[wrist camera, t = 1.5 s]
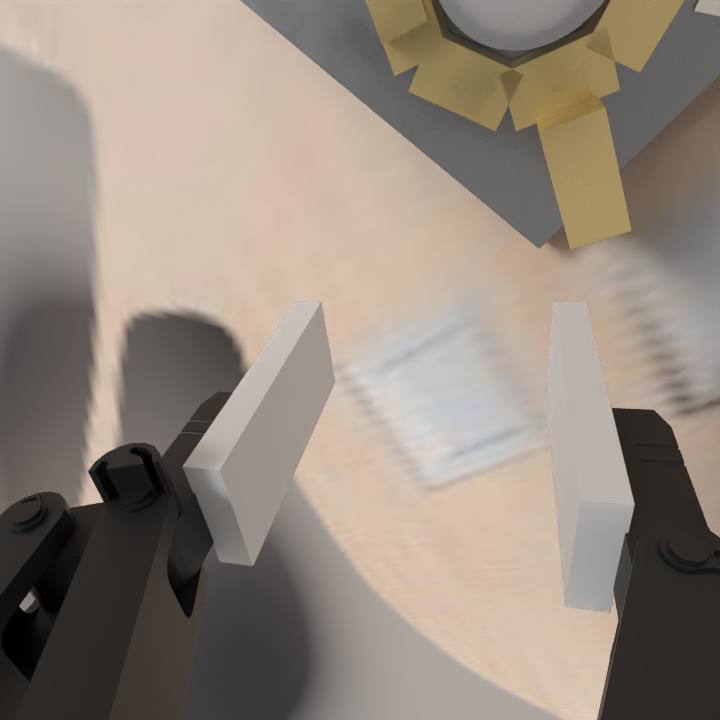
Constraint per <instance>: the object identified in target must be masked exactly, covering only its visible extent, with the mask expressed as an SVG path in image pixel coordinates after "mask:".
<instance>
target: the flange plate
mask: <svg viewBox="0 0 720 720" xmlns="http://www.w3.org/2000/svg"><path fill="white" fill-rule="evenodd" d="M241 1H242V2H243V3H244V4H245V5H247V6H248V7H249V8H250V9H251V10H253V11H254V12H255V13H256V14H257V15H259V16H260V17H261V18H262V19H263V20H265V21H266V22H267V23H268V24H270V25H271V26H272V27H273V28H274V29H276V30H277V31H278V32H279V33H280V34H282V35H283V36H284V37H285V38H286V39H288V40H289V41H290V42H291V43H292V44H294V45H295V46H296V47H297V48H298V49H300V50H301V51H302V52H303V53H304V54H306V55H307V56H308V57H309V58H310V59H312V60H313V61H314V62H315V63H316V64H318V65H319V66H320V67H321V68H322V69H324V70H325V71H326V72H327V73H328V74H330V75H331V76H332V77H333V78H334V79H336V80H337V81H338V82H339V83H340V84H342V85H343V86H344V87H345V88H346V89H348V90H349V91H350V92H351V93H352V94H354V95H355V96H356V97H357V98H358V99H360V100H361V101H362V102H363V103H364V104H366V105H367V106H368V107H369V108H370V109H372V110H373V111H374V112H375V113H376V114H378V115H379V116H380V117H381V118H382V119H384V120H385V121H386V122H387V123H388V124H390V125H391V126H392V127H393V128H394V129H396V130H397V131H398V132H399V133H401V134H402V135H403V136H404V137H405V138H407V139H408V140H409V141H410V142H411V143H413V144H414V145H415V146H416V147H417V148H419V149H420V150H421V151H422V152H423V153H425V154H426V155H427V156H428V157H429V158H431V159H432V160H433V161H434V162H435V163H437V164H438V165H439V166H440V167H441V168H443V169H444V170H445V171H446V172H447V173H449V174H450V175H451V176H452V177H453V178H455V179H456V180H457V181H458V182H459V183H461V184H462V185H463V186H464V187H465V188H467V189H468V190H469V191H470V192H471V193H473V194H474V195H475V196H476V197H477V198H479V199H480V200H481V201H482V202H483V203H485V204H486V205H487V206H488V207H489V208H491V209H492V210H493V211H494V212H495V213H497V214H498V215H499V216H500V217H501V218H503V219H504V220H505V221H506V222H507V223H509V224H510V225H511V226H512V227H513V228H515V229H516V230H517V231H518V232H519V233H521V234H522V235H523V236H524V237H525V238H527V239H528V240H529V241H530V242H532V243H533V244H534V245H535V246H536V247H538V248H540V247H542V246H543V245H544V244H545V243H546V242H547V241H548V240H549V239H550V238H551V237H552V236H553V235H554V234H555V233H556V232H557V231H558V230H559V229H560V228H561V227H562V226H563V221H562V217H561V213H560V210H559V206H558V202H557V199H556V195H555V191H554V188H553V184H552V180H551V177H550V173H549V169H548V166H547V162H546V158H545V154H544V151H543V147H542V143H541V140H540V136H539V132H538V127H537V123H536V124H533V125H531V126H528V127H526V128H523V129H521V130H518V131H516V129H515V126H514V122H513V119H512V115H511V112H510V108H509V105H508V107H507V109H506V111H505V114H504V116H503V118H502V120H501V122H500V124H499V126H498V128H497V130H496V131H494V130H492V129H489V128H487V127H485V126H483V125H481V124H478V123H476V122H474V121H472V120H470V119H467V118H465V117H463V116H461V115H459V114H456V113H454V112H452V111H450V110H448V109H445V108H443V107H441V106H439V105H437V104H434V103H432V102H430V101H428V100H426V99H423V98H421V97H419V96H417V95H415V94H412V93H410V92H408V91H409V89H410V86H411V84H412V81H413V78H414V76H415V73H416V70H417V68H418V65H416V66H414V67H412V68H410V69H408V70H406V71H404V72H402V73H400V74H398V75H396V76H394V73H393V70H392V68H391V65H390V62H389V60H388V57H387V54H386V52H385V49H384V46H383V44H381V41H380V39H379V36H378V33H377V30H376V28H375V25H374V22H373V20H372V17H371V14H370V12H369V9H368V6H367V3H366V1H367V0H241ZM439 1H440V4H441V8H442V11H443V14H444V17H445V20H446V23H447V27H448V30H449V33H451V34H453V35H456V36H458V37H460V38H462V39H464V40H467V41H469V42H471V43H473V44H475V45H477V46H480V47H482V48H484V49H486V50H488V51H491V52H493V53H495V54H497V55H499V56H501V57H504V58H506V59H508V60H510V61H514V60H516V59H518V58H520V57H523V56H525V55H527V54H529V53H531V52H534V51H536V50H538V49H540V48H542V47H545V46H547V45H549V44H551V43H553V42H556V41H558V40H560V39H562V38H564V37H567V36H569V35H571V34H573V33H575V32H578V31H580V30H582V29H584V28H585V27H586V25H587V23H588V21H589V19H590V17H591V15H592V14H593V13H594V12H595V11H596V10H597V9H598V8H599V7H600V6H601V4H602V3H603V2H604V0H439ZM614 63H615V68H616V73H617V78H618V83H619V88H620V90H618V91H615V92H613V93H611V94H608V95H606V96H603V97H601V98H599V100H600V101H601V102H602V103H603V105H604V106H605V107H606V112H607V116H608V121H609V126H610V131H611V135H612V140H613V145H614V149H615V154H616V159H617V163H618V168H619V172H620V171H621V170H622V169H623V168H624V167H625V166H626V165H627V164H628V163H629V162H630V161H631V160H632V159H633V158H634V157H635V156H636V155H637V154H638V153H639V152H640V151H641V150H643V149H644V148H645V147H646V146H647V145H648V144H649V143H650V142H651V141H652V140H653V139H654V138H655V137H656V136H657V135H658V134H659V133H660V132H661V131H662V130H663V129H664V128H665V127H666V126H667V125H669V124H670V123H671V122H672V121H673V120H674V119H675V118H676V117H677V116H678V115H679V114H680V113H681V112H682V111H683V110H684V109H685V108H686V107H687V106H688V105H689V104H690V103H691V102H692V101H694V100H695V99H696V98H697V97H698V96H699V95H700V94H701V93H702V92H703V91H704V90H705V89H706V88H707V87H708V86H709V85H710V84H711V83H712V82H713V81H714V80H715V79H716V78H717V77H719V76H720V0H684V2H683V3H682V5H681V7H680V8H679V10H678V12H677V13H676V15H675V16H674V18H673V20H672V21H671V23H670V25H669V26H668V28H667V29H666V31H665V33H664V34H663V36H662V38H661V39H660V41H659V42H658V44H657V46H656V47H655V49H654V51H653V52H652V54H651V56H650V57H649V59H648V60H647V62H646V64H645V65H644V67H643V69H642V70H641V72H638V71H635V70H633V69H631V68H629V67H627V66H625V65H622V64H620V63H618V62H616V61H614Z"/></svg>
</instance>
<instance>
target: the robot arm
mask: <svg viewBox="0 0 720 720" xmlns="http://www.w3.org/2000/svg"><path fill="white" fill-rule="evenodd" d="M334 383H335V378H334V372H333V366H332V361H331V355H330V349H329V343H328V337H327V331H326V325H325V320H324V314H323V308H322V302H295V303H294V305H293V306H292V308H291V309H290V311H289V312H288V314H287V315H286V316H285V318H284V319H283V321H282V322H281V324H280V325H279V327H278V328H277V330H276V331H275V332H274V334H273V335H272V337H271V338H270V340H269V341H268V343H267V344H266V346H265V347H264V349H263V350H262V351H261V353H260V354H259V356H258V357H257V359H256V360H255V362H254V363H253V365H252V366H251V367H250V369H249V370H248V372H247V373H246V375H245V376H244V378H243V379H242V381H241V382H240V384H239V385H238V386H237V388H236V389H235V391H234V392H233V393H231V392H217V393H216V394H215V395H213V396H212V397H211V398H209V399H208V400H206V401H205V402H204V403H202V404H201V406H200V407H199V408H198V410H197V411H196V412H195V414H194V415H193V416H192V417H191V421H190V422H188V423H187V424H186V425H185V427H184V428H183V430H182V433H181V434H179V435H178V436H177V438H176V439H175V440H174V442H173V443H172V444H171V446H170V447H169V449H168V450H167V451H166V452H165V454H164V455H163V457H162V458H161V456H160V453H159V452H158V450H157V449H156V448H155V447H154V446H152V445H150V444H147V443H132V444H128V445H124V446H120V447H118V448H116V449H114V450H112V451H110V452H108V453H106V454H105V455H103V456H102V457H101V458H100V459H98V460H97V461H96V462H95V463H94V464H93V466H92V467H91V468H90V470H89V471H88V472H89V474H90V476H91V478H92V480H93V482H94V484H95V486H96V488H97V490H98V491H99V493H100V495H101V497H102V499H103V501H104V502H102V503H96V504H91V505H85V506H79V507H73V508H69V506H68V504H67V502H66V501H65V499H64V498H63V497H62V496H61V495H60V494H58V493H54V492H43V493H37V494H34V495H31V496H28V497H26V498H23V499H22V500H20V501H18V502H16V503H15V504H13V505H11V506H10V507H9V508H8V509H7V510H6V511H4V512H3V513H2V514H1V515H0V720H184V714H185V708H186V702H187V697H188V691H189V685H190V679H191V674H192V668H193V662H194V656H195V651H196V645H197V639H198V633H199V628H200V622H201V616H202V610H203V605H204V599H205V593H206V587H207V581H208V568H207V566H206V563H205V561H204V560H205V558H206V556H207V554H208V552H209V550H210V548H211V546H212V545H214V548H215V550H216V553H217V555H218V558H219V561H220V562H227V563H235V564H242V565H250V566H253V565H254V563H255V560H256V558H257V556H258V554H259V551H260V549H261V547H262V545H263V542H264V540H265V538H266V536H267V533H268V531H269V529H270V527H271V525H272V522H273V520H274V518H275V515H276V513H277V510H278V509H279V506H280V504H281V502H282V500H283V498H284V495H285V493H286V491H287V489H288V486H289V484H290V482H291V480H292V477H293V475H294V473H295V471H296V468H297V466H298V464H299V462H300V459H301V457H302V455H303V453H304V450H305V448H306V446H307V444H308V442H309V439H310V437H311V435H312V433H313V430H314V428H315V426H316V424H317V421H318V419H319V417H320V415H321V412H322V410H323V408H324V406H325V403H326V401H327V399H328V397H329V394H330V392H331V390H332V388H333V385H334ZM546 398H547V409H548V420H549V432H550V443H551V454H552V466H553V477H554V488H555V500H556V511H557V522H558V534H559V545H560V556H561V568H562V579H563V590H564V601H565V607H572V608H580V609H587V610H595V611H603V612H610V613H611V609H612V604H613V600H614V597H615V602H616V608H617V614H618V620H619V621H618V625H617V629H616V634H615V638H614V642H613V646H612V650H611V655H610V662H609V667H608V671H607V676H606V681H605V685H604V690H603V695H602V700H601V704H600V709H599V714H598V718H597V720H720V538H719V537H718V536H717V535H715V534H714V533H713V532H711V531H710V529H709V527H708V525H707V523H706V520H705V517H704V515H703V512H702V509H701V507H700V504H699V501H698V498H697V496H696V493H695V490H694V488H693V485H692V482H691V479H690V477H689V474H688V471H687V468H686V466H684V460H683V458H682V455H681V452H680V450H678V444H677V441H676V438H675V436H674V433H673V430H672V428H671V426H670V425H669V424H668V423H667V422H666V421H665V420H664V419H663V418H662V417H661V416H660V415H659V414H657V413H656V412H655V411H654V410H644V409H621V408H611V404H610V400H609V396H608V392H607V388H606V384H605V379H604V375H603V371H602V367H601V363H600V359H599V355H598V350H597V346H596V342H595V338H594V334H593V330H592V325H591V321H590V317H589V313H588V309H587V305H586V302H553V310H552V322H551V334H550V346H549V358H548V370H547V382H546ZM29 591H30V592H31V594H32V595H33V597H34V598H35V601H34V602H33V604H32V605H31V606H30V607H29V608H28V609H27V610H26V611H22V609H21V608H20V607H19V605H20V604H21V602H22V601H23V600H24V598H25V597H26V596H27V594H28V593H29Z"/></svg>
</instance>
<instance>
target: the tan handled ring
mask: <svg viewBox="0 0 720 720" xmlns="http://www.w3.org/2000/svg"><path fill="white" fill-rule="evenodd" d="M683 2H684V0H604V2H603V3H602V4H601V6H600V7H599V8H598V9H597V10H596V11H595V12H594V13H593V14H592V15H591V17H590V19H589V21H588V23H587V25H586V27H585V28H584V29H582V30H580V31H578V32H575V33H573V34H571V35H569V36H567V37H564V38H562V39H560V40H558V41H556V42H553V43H551V44H549V45H547V46H545V47H542V48H540V49H538V50H536V51H534V52H531V53H529V54H527V55H525V56H523V57H520V58H518V59H516V60H514V61H510V60H508V59H506V58H504V57H501V56H499V55H497V54H495V53H493V52H491V51H488V50H486V49H484V48H482V47H480V46H477V45H475V44H473V43H471V42H469V41H467V40H464V39H462V38H460V37H458V36H456V35H453V34H451V33H449V30H448V27H447V23H446V20H445V17H444V14H443V11H442V8H441V4H440V1H439V0H367V1H366V3H367V6H368V9H369V12H370V14H371V17H372V20H373V22H374V25H375V28H376V30H377V33H378V36H379V39H380V41H381V44H383V46H384V49H385V52H386V54H387V57H388V60H389V62H390V65H391V68H392V70H393V73H394V76H396V75H398V74H400V73H402V72H404V71H406V70H408V69H410V68H412V67H414V66H416V65H418V68H417V70H416V73H415V76H414V78H413V81H412V84H411V86H410V89H409V91H408V92H410V93H412V94H415V95H417V96H419V97H421V98H423V99H426V100H428V101H430V102H432V103H434V104H437V105H439V106H441V107H443V108H445V109H448V110H450V111H452V112H454V113H456V114H459V115H461V116H463V117H465V118H467V119H470V120H472V121H474V122H476V123H478V124H481V125H483V126H485V127H487V128H489V129H492V130H494V131H496V130H497V128H498V126H499V124H500V122H501V120H502V118H503V116H504V114H505V111H506V109H507V107H508V105H509V108H510V112H511V115H512V119H513V122H514V126H515V129H516V131H518V130H521V129H523V128H526V127H528V126H531V125H533V124H536V123H537V127H538V132H539V136H540V140H541V143H542V147H543V151H544V154H545V158H546V162H547V166H548V169H549V173H550V177H551V180H552V184H553V188H554V191H555V195H556V199H557V202H558V206H559V210H560V213H561V217H562V221H563V225H564V228H565V232H566V236H567V239H568V243H569V247H570V249H574V248H577V247H580V246H583V245H587V244H590V243H593V242H597V241H600V240H603V239H607V238H610V237H613V236H617V235H620V234H623V233H626V232H630V231H632V229H631V225H630V220H629V215H628V211H627V206H626V201H625V196H624V192H623V187H622V182H621V178H620V173H619V168H618V163H617V159H616V154H615V149H614V145H613V140H612V135H611V131H610V126H609V121H608V116H607V112H606V107H605V106H604V105H603V103H602V102H601V101H600V100H599V98H601V97H603V96H606V95H608V94H611V93H613V92H615V91H618V90H620V88H619V83H618V78H617V73H616V68H615V63H614V61H616V62H618V63H620V64H622V65H625V66H627V67H629V68H631V69H633V70H635V71H638V72H641V70H642V69H643V67H644V65H645V64H646V62H647V60H648V59H649V57H650V56H651V54H652V52H653V51H654V49H655V47H656V46H657V44H658V42H659V41H660V39H661V38H662V36H663V34H664V33H665V31H666V29H667V28H668V26H669V25H670V23H671V21H672V20H673V18H674V16H675V15H676V13H677V12H678V10H679V8H680V7H681V5H682V3H683Z"/></svg>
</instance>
